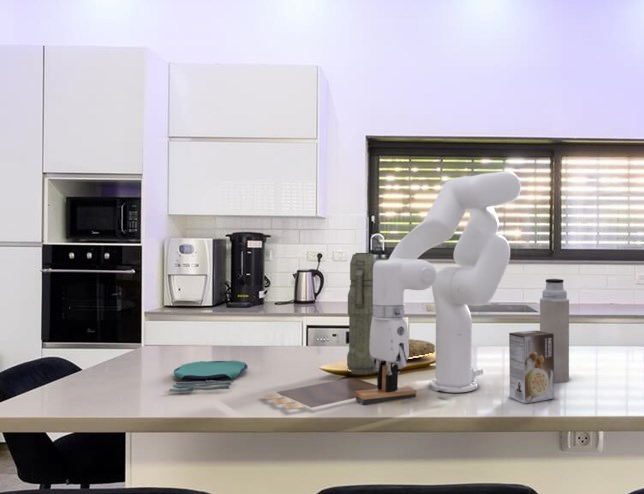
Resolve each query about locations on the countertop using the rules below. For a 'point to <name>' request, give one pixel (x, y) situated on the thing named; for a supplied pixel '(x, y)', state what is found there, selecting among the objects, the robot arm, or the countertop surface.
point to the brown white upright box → (531, 366)
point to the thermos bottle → (556, 325)
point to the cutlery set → (207, 374)
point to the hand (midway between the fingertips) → (387, 389)
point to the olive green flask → (360, 313)
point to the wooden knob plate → (384, 392)
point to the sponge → (420, 347)
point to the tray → (328, 392)
